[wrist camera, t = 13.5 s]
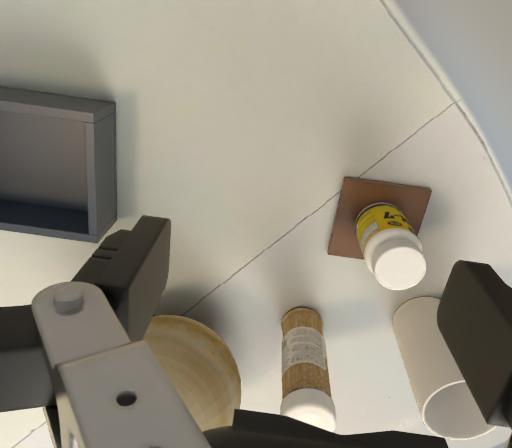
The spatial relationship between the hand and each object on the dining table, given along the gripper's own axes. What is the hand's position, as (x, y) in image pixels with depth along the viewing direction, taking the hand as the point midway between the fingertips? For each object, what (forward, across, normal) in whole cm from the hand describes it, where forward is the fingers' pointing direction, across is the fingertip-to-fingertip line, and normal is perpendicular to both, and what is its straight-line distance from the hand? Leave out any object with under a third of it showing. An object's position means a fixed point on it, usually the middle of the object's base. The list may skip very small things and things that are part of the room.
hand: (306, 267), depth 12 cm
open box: (+28, +22, +8) cm, 37 cm away
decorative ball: (+28, +8, +28) cm, 41 cm away
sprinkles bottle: (+28, -5, +23) cm, 37 cm away
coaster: (+28, -10, +10) cm, 31 cm away
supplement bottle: (+28, -10, +10) cm, 31 cm away
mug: (+28, -18, +19) cm, 39 cm away
